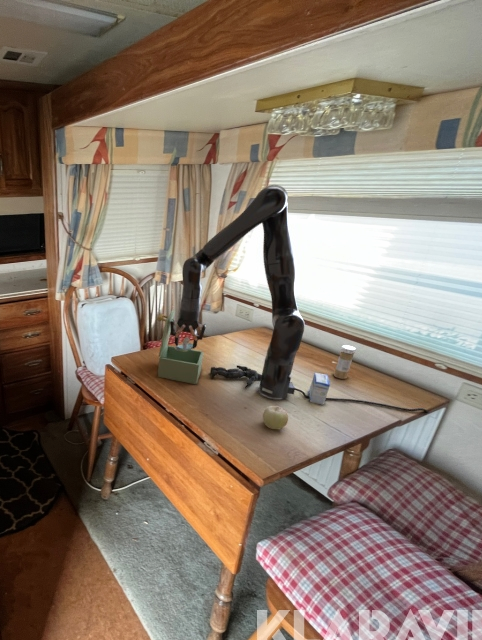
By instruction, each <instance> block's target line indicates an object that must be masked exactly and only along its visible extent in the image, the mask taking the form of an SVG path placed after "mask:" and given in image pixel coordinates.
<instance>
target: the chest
mask: <svg viewBox="0 0 482 640" xmlns="http://www.w3.org/2000/svg"><path fill="white" fill-rule="evenodd" d="M175 347H176V346H173V345H167V347H166V348H165V350H164V352H163V353H162V355H161V357H159V359H158V360H159V361H158V369H157V377H158V378H163V379H167V380H172V381H178V382H181V383H187V384H191V385H197V384H198V380H199V377H200V374H201V372H202V366H203V365H202V364H203V358H204V351H203V350H198V349H191V350H188V351H187V352H182V351H178V350H175ZM178 349H179V348H178Z"/></svg>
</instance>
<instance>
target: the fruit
mask: <svg viewBox="0 0 482 640" xmlns="http://www.w3.org/2000/svg"><path fill="white" fill-rule="evenodd" d="M262 421H263V423H264V425H265V426H266V427H267V428H269V429H271V430H281V429H284V428H285V427H286V426H287V424H288V422H289V414H288V412H287V411H286V409H284V408H282V407H281V406H278V405H270V406H267V407H266V408H265V409H263V412H262Z"/></svg>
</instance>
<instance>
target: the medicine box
mask: <svg viewBox="0 0 482 640" xmlns="http://www.w3.org/2000/svg"><path fill="white" fill-rule="evenodd" d="M330 386H331V384H330V380H329V375H328V374H325V373H324V374H323V373H319V372H314V374H313V377H312V380H311V382H310V386H309V389H308V396H309V397H310V399H309V402H310V403H313V404H317V405H325V402H326V400H325V399H326V398H327V395H328V393H329V390H330Z"/></svg>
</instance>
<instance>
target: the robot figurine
mask: <svg viewBox="0 0 482 640" xmlns="http://www.w3.org/2000/svg"><path fill="white" fill-rule="evenodd" d="M216 376H220V377H223V378H224V379H226V380H238V379H242V378H247V380H246V385H245V386H244V388H245V389H247V388H248V387H250V386H252V385H253V383H254V381H259V382H260V380H261V376H262V373H261V374H260V373H259V372H258V371H256V370H255V369H251V368H249V367H247V366H243V365H236V368H229V369H227V368H225V367H221V366H218V367H216V366H211V367H210V378H211V379H215V377H216Z"/></svg>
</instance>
